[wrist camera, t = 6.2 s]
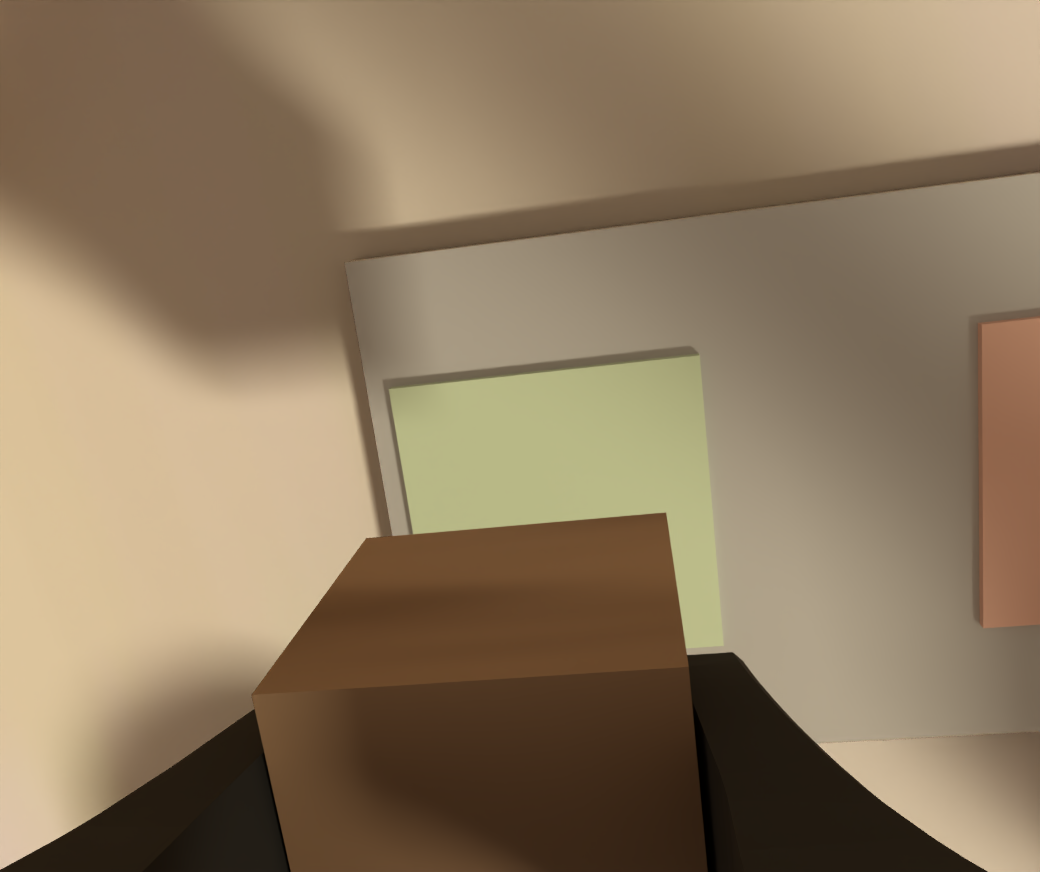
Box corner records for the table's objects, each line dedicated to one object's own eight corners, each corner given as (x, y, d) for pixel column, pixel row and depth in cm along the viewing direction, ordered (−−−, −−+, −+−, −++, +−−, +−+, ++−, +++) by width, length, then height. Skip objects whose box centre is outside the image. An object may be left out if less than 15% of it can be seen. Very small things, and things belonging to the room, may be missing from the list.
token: (692, 783, 13) (723, 1037, 9) (412, 796, 13) (328, 1042, 9) (666, 512, 12) (688, 665, 8) (366, 538, 12) (251, 694, 8)
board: (1362, 129, 16) (1400, 127, 15) (1309, 699, 18) (1339, 722, 18) (352, 260, 18) (340, 263, 17) (437, 747, 21) (430, 769, 20)
